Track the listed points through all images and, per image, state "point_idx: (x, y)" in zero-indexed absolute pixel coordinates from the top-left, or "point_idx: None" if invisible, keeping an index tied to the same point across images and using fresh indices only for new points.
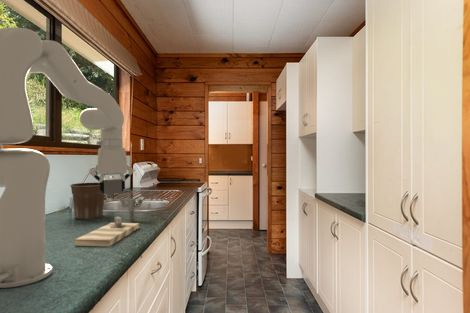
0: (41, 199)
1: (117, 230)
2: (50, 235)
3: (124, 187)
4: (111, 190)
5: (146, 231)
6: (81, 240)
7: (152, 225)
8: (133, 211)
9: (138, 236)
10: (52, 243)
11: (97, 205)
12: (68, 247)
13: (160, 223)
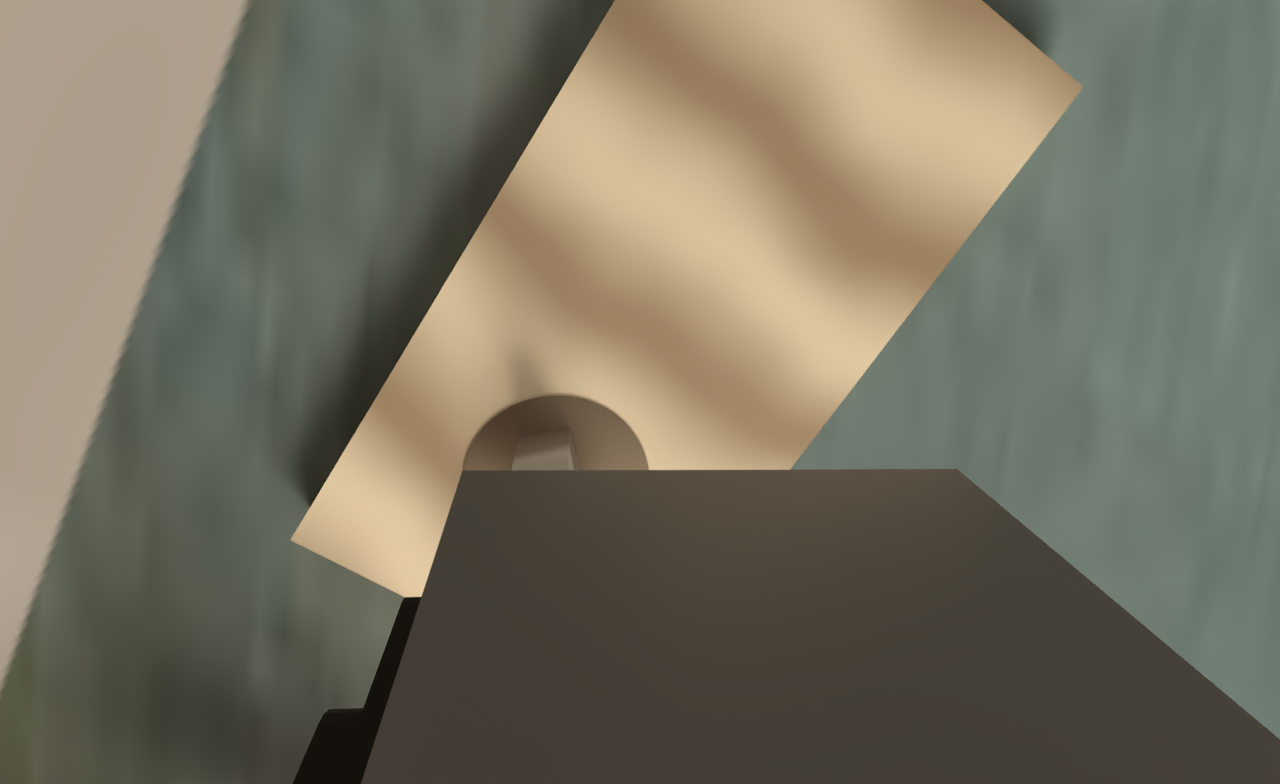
0: None
1: (584, 282)
2: (1161, 603)
3: (331, 731)
4: (786, 512)
5: (232, 312)
6: (1017, 34)
7: (139, 566)
8: None
9: (348, 114)
10: (1200, 294)
11: None
12: (1106, 45)
13: (31, 621)
